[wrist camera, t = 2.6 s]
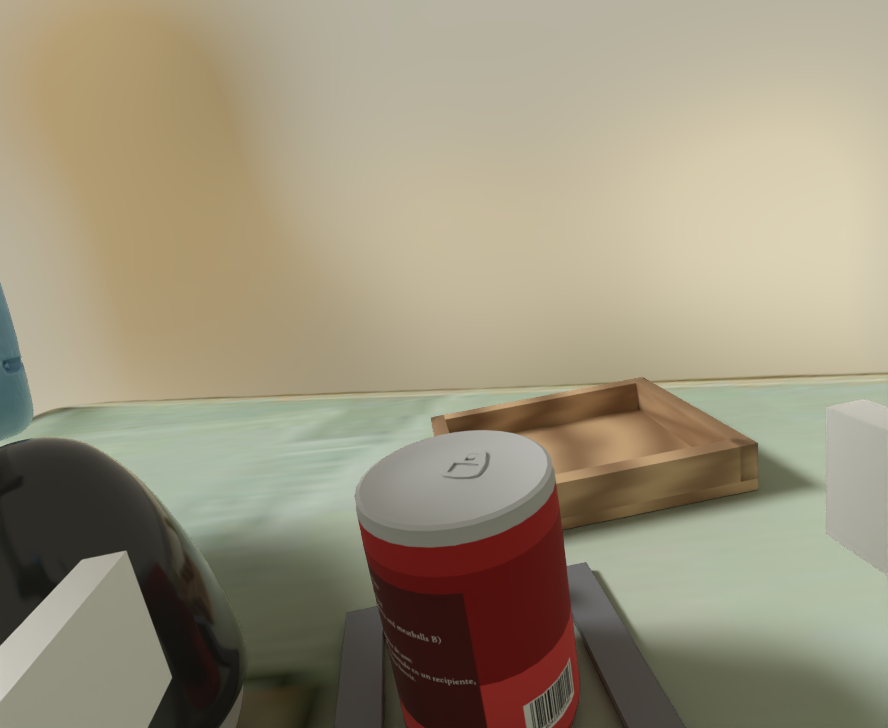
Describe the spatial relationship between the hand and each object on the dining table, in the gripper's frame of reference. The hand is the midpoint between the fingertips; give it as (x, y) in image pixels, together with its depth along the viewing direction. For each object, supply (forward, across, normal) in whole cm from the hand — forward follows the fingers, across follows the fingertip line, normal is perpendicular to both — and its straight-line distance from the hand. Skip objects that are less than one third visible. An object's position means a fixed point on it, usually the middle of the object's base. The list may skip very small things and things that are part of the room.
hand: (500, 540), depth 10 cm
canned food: (+10, 0, -14) cm, 18 cm away
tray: (+29, +10, -14) cm, 34 cm away
